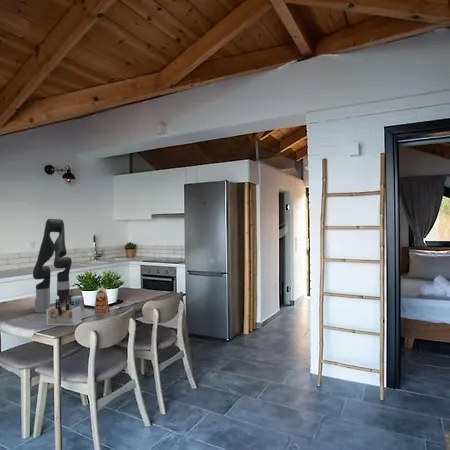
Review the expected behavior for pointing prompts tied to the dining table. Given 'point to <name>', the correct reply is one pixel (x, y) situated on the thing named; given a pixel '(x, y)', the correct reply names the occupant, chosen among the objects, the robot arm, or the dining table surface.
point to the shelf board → (64, 312)
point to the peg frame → (63, 320)
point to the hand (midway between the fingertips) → (63, 313)
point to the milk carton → (101, 303)
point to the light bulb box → (77, 302)
